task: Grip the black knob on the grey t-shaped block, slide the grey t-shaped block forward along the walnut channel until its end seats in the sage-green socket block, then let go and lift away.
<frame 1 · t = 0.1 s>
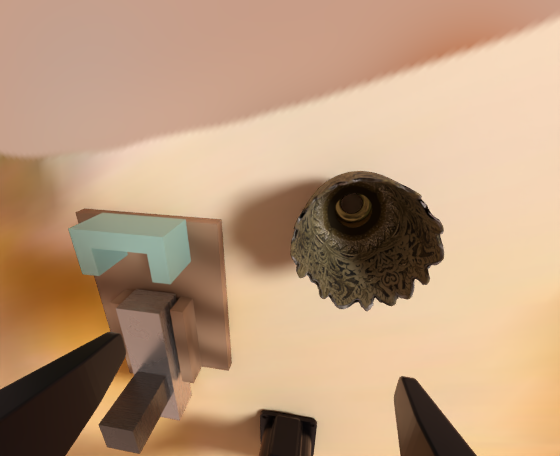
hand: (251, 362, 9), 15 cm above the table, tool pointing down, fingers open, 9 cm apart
cup: (351, 202, 21), on the table
grey t-shaped block: (143, 380, 25), point 5 cm above the table, slide at 0.0 cm
socket block: (153, 232, 25), resting on slide base
slide base: (165, 295, 28), on the table
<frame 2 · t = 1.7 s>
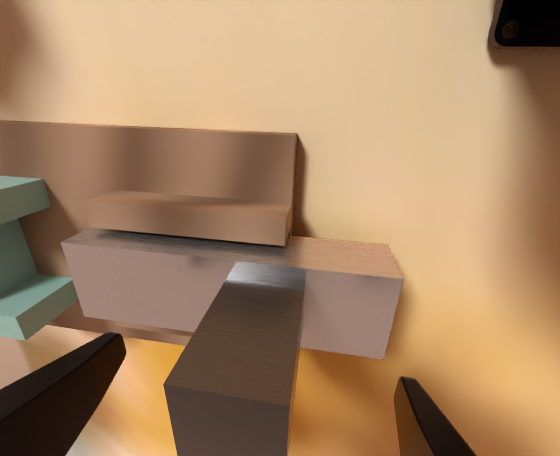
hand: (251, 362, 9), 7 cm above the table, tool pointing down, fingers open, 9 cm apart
grey t-shaped block: (210, 318, 11), point 5 cm above the table, slide at 0.0 cm
socket block: (48, 234, 17), resting on slide base
slide base: (154, 244, 16), on the table
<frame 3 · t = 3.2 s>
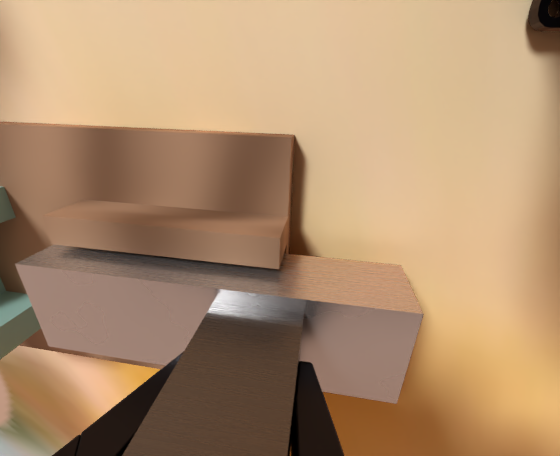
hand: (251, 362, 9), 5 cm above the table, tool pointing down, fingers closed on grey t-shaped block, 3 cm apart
grey t-shaped block: (189, 358, 9), point 5 cm above the table, slide at 0.0 cm, touching gripper
socket block: (17, 246, 15), resting on slide base
slide base: (134, 259, 14), on the table
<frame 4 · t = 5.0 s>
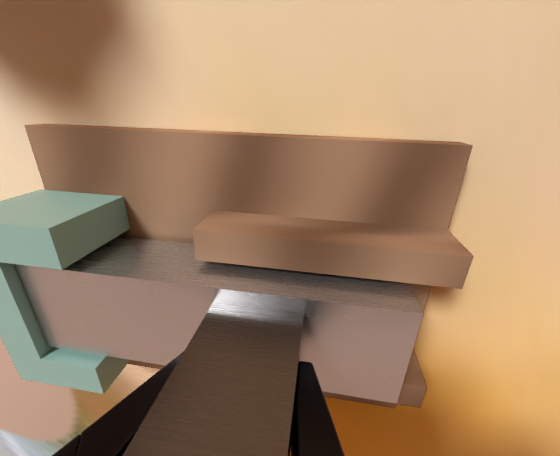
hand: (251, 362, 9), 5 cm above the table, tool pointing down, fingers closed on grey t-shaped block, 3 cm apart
grey t-shaped block: (189, 358, 9), point 5 cm above the table, slide at 5.9 cm, touching gripper
socket block: (115, 257, 14), resting on slide base
slide base: (245, 272, 14), on the table
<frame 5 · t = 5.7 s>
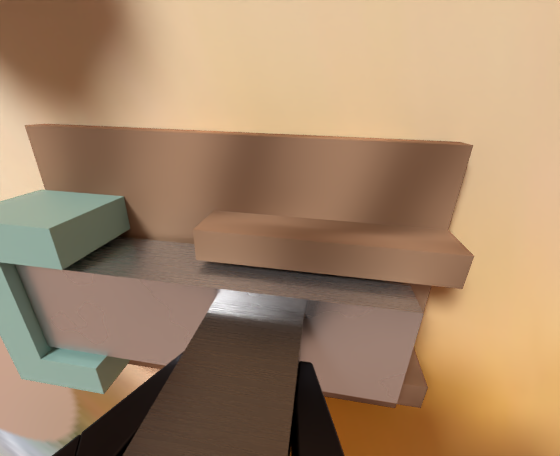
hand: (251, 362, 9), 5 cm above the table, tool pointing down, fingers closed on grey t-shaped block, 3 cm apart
grey t-shaped block: (189, 358, 9), point 5 cm above the table, slide at 5.9 cm, touching gripper
socket block: (115, 257, 14), resting on slide base
slide base: (246, 272, 14), on the table
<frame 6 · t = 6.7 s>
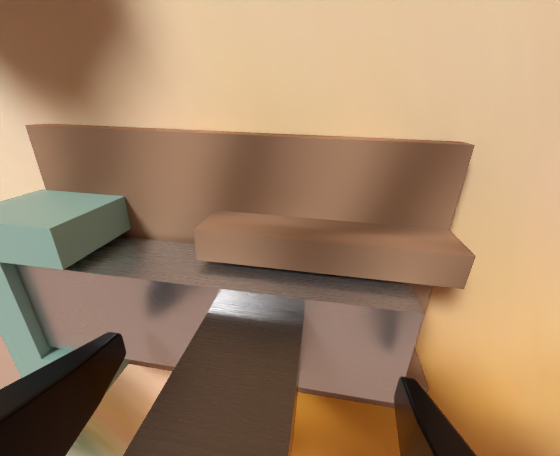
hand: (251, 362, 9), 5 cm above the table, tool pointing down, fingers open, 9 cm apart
grey t-shaped block: (189, 358, 9), point 5 cm above the table, slide at 6.0 cm
socket block: (116, 257, 14), resting on slide base
slide base: (246, 272, 14), on the table
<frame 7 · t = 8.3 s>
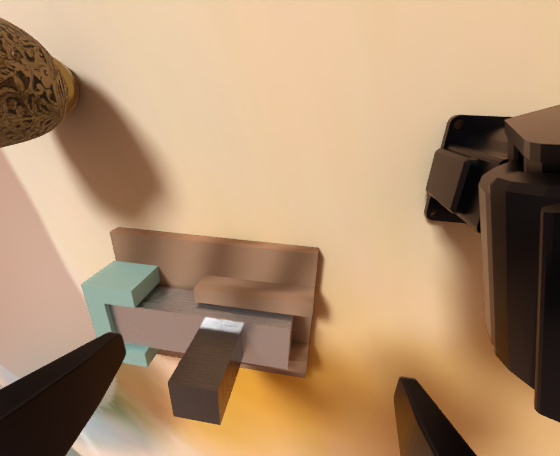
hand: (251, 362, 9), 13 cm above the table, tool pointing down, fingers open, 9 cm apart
cup: (62, 86, 20), on the table
grey t-shaped block: (191, 347, 20), point 5 cm above the table, slide at 6.0 cm
socket block: (149, 293, 26), resting on slide base
slide base: (222, 302, 25), on the table
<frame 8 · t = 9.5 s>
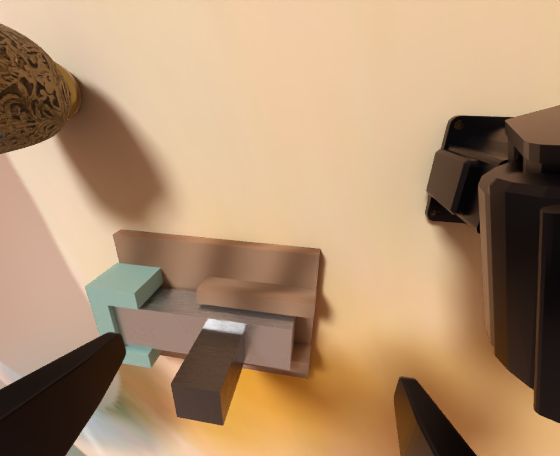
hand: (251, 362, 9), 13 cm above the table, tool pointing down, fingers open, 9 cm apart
cup: (65, 91, 20), on the table
grey t-shaped block: (194, 348, 20), point 5 cm above the table, slide at 6.0 cm
socket block: (152, 294, 26), resting on slide base
slide base: (224, 304, 25), on the table
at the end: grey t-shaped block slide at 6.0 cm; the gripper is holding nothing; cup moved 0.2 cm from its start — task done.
